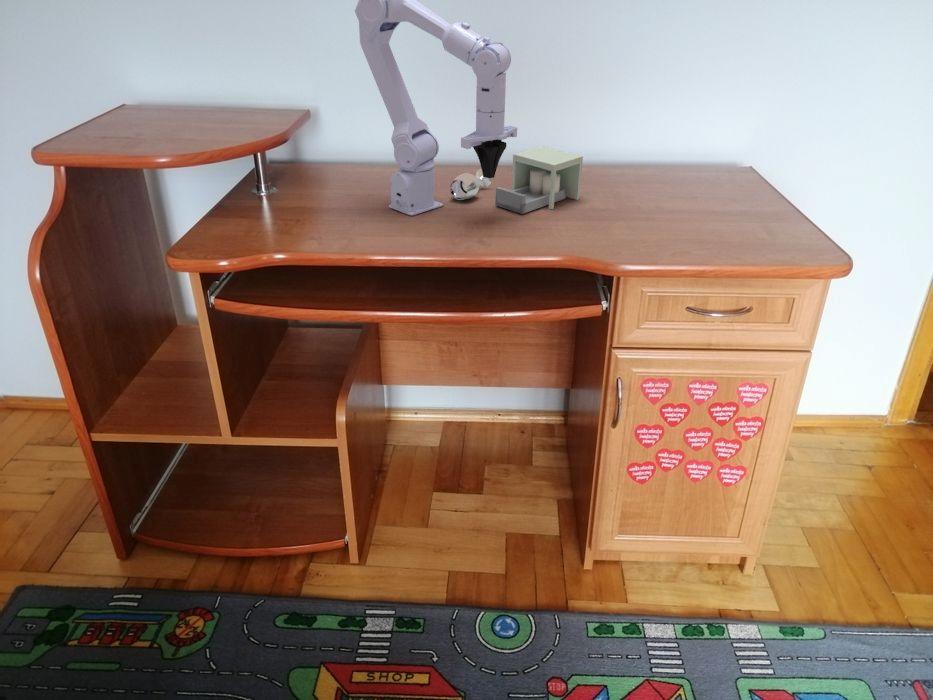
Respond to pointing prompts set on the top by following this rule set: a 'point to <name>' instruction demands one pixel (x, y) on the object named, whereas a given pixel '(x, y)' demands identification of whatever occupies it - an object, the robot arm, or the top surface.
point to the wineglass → (468, 185)
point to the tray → (530, 193)
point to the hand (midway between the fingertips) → (488, 176)
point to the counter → (549, 170)
